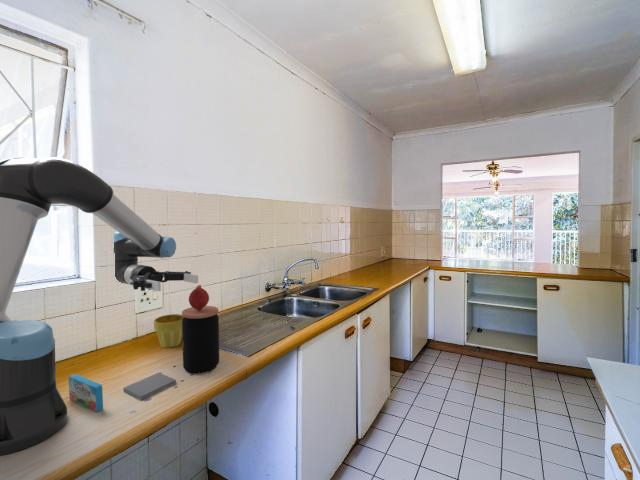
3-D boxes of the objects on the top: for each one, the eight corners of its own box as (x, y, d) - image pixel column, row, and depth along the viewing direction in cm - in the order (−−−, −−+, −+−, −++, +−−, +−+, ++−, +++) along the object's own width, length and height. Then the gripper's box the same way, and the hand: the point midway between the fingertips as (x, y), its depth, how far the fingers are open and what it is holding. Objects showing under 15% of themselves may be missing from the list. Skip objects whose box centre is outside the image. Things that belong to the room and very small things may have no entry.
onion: (202, 314, 96) (201, 287, 95) (185, 312, 97) (184, 286, 96) (212, 308, 101) (212, 283, 101) (196, 307, 102) (195, 282, 102)
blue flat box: (103, 409, 78) (102, 385, 78) (96, 412, 77) (95, 387, 76) (76, 396, 84) (75, 373, 83) (69, 399, 82) (68, 376, 82)
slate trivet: (140, 400, 82) (140, 396, 82) (123, 391, 86) (123, 387, 86) (175, 383, 91) (175, 379, 91) (158, 375, 95) (158, 372, 95)
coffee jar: (199, 357, 107) (198, 304, 106) (226, 362, 104) (225, 307, 103) (175, 371, 97) (173, 313, 96) (203, 377, 94) (203, 317, 93)
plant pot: (158, 352, 111) (157, 324, 110) (151, 343, 119) (151, 317, 118) (189, 345, 117) (188, 319, 116) (181, 337, 125) (180, 312, 124)
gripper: (173, 280, 125) (210, 287, 114) (103, 293, 104) (141, 302, 93) (172, 261, 125) (210, 266, 114) (102, 270, 103) (140, 277, 92)
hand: (179, 282), depth 103 cm, fingers open, 13 cm apart
